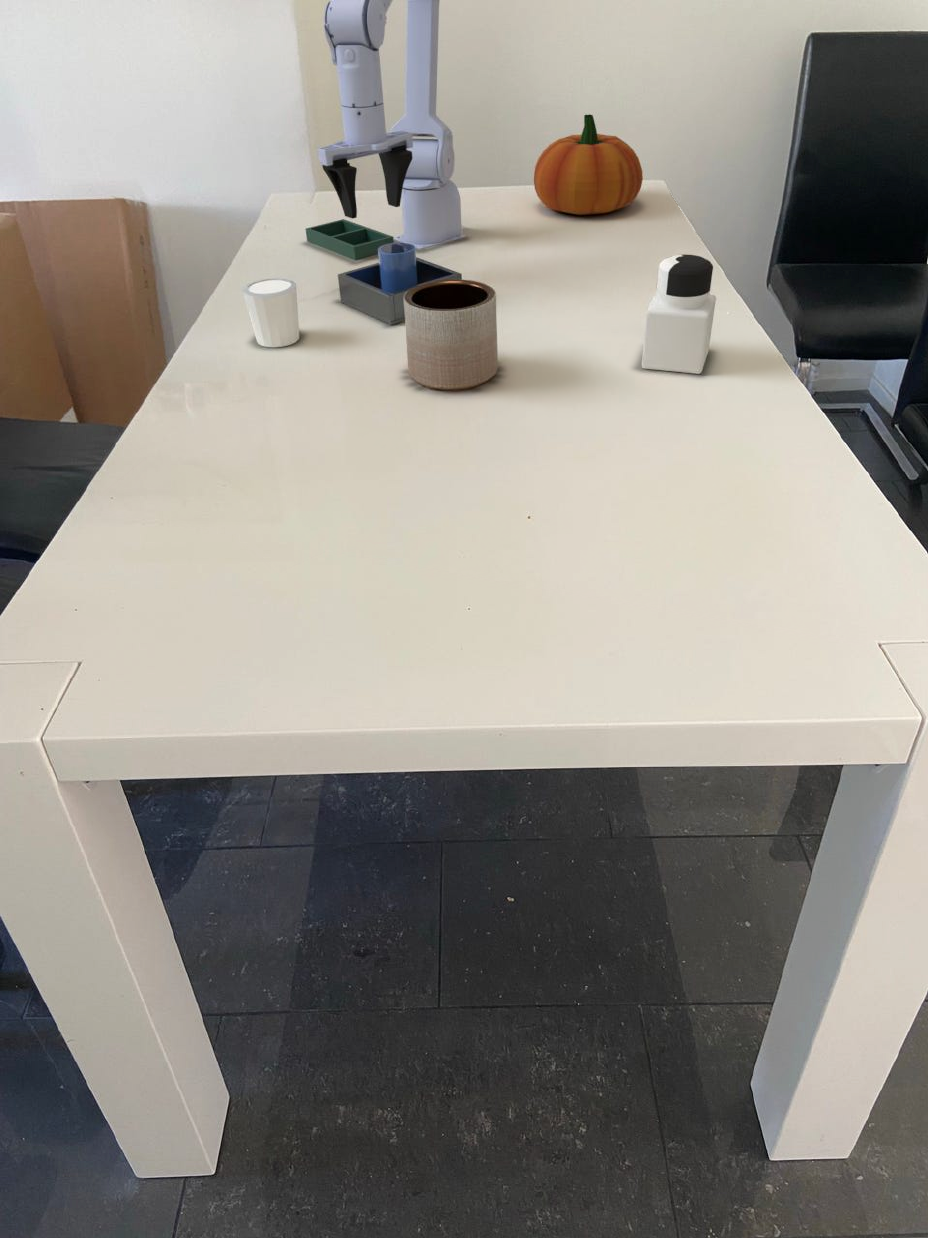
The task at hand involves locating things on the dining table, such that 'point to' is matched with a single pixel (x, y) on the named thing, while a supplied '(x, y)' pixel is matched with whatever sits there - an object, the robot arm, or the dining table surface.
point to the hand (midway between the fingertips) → (372, 210)
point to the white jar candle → (273, 311)
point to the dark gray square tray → (369, 297)
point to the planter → (451, 333)
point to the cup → (397, 266)
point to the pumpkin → (588, 173)
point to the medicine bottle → (680, 316)
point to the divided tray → (348, 239)
